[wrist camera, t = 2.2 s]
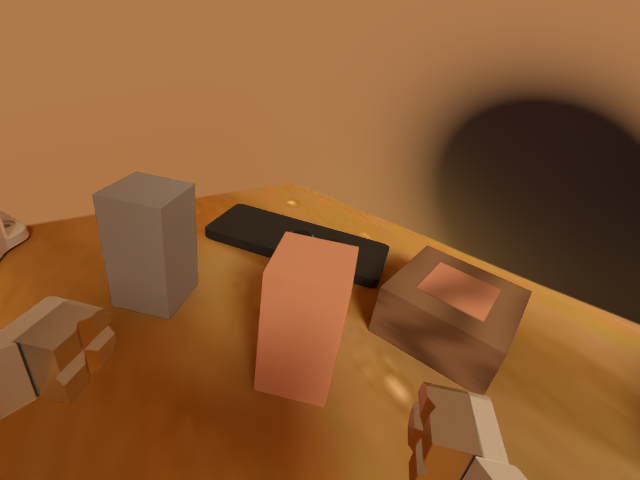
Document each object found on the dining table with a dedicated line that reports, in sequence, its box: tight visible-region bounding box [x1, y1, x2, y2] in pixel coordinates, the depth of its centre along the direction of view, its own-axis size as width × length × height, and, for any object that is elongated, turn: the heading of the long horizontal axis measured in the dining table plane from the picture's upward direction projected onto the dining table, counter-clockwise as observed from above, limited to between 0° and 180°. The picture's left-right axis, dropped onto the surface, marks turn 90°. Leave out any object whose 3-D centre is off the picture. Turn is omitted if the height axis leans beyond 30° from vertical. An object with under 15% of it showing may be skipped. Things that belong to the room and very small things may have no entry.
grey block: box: [92, 172, 198, 320], centre depth 30 cm, size 5×5×10 cm
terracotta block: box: [254, 232, 359, 408], centre depth 25 cm, size 5×5×10 cm
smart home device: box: [206, 204, 389, 288], centre depth 43 cm, size 8×2×20 cm
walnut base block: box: [368, 245, 532, 395], centre depth 32 cm, size 10×10×5 cm
